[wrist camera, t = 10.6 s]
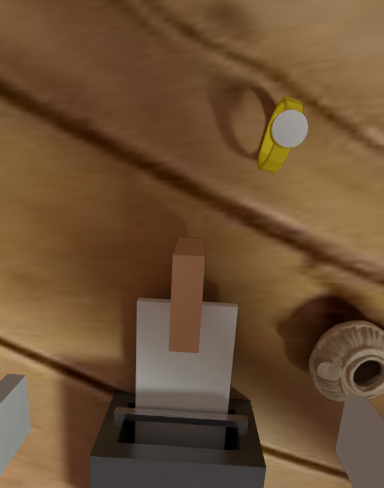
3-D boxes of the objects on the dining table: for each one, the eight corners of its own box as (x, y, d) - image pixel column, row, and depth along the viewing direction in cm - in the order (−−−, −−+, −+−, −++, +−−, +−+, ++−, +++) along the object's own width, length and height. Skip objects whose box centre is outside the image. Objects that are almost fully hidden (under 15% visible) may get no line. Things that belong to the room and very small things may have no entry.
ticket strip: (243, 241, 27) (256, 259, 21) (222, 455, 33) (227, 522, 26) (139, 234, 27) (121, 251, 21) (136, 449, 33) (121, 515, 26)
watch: (265, 106, 27) (285, 79, 21) (293, 115, 27) (321, 90, 21) (246, 169, 27) (261, 160, 22) (273, 177, 28) (295, 170, 22)
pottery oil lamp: (407, 391, 32) (421, 455, 26) (301, 344, 36) (293, 391, 30) (458, 342, 27) (488, 408, 22) (330, 293, 31) (327, 338, 25)
